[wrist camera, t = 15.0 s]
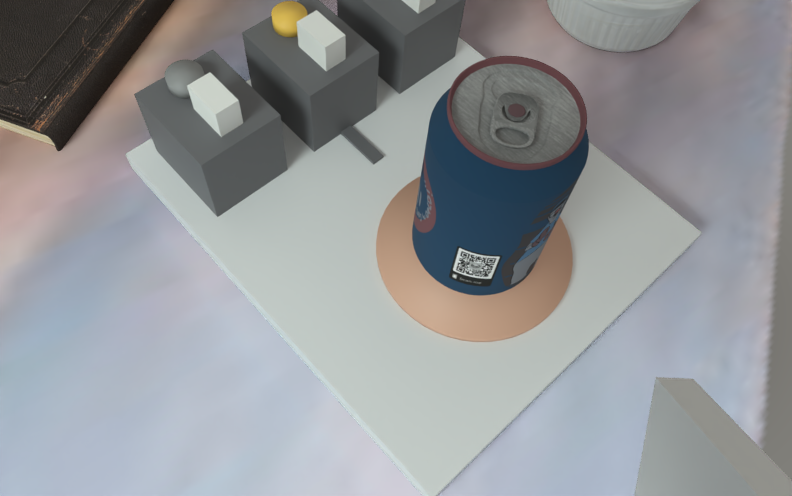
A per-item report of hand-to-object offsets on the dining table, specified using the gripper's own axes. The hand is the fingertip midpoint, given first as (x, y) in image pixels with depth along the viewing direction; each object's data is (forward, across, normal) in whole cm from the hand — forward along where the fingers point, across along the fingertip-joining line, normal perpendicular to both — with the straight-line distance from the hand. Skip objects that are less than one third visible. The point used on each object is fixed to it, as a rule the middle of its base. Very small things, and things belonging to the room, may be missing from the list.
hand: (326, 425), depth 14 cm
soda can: (+25, +7, -3) cm, 26 cm away
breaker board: (+29, +4, -2) cm, 29 cm away
